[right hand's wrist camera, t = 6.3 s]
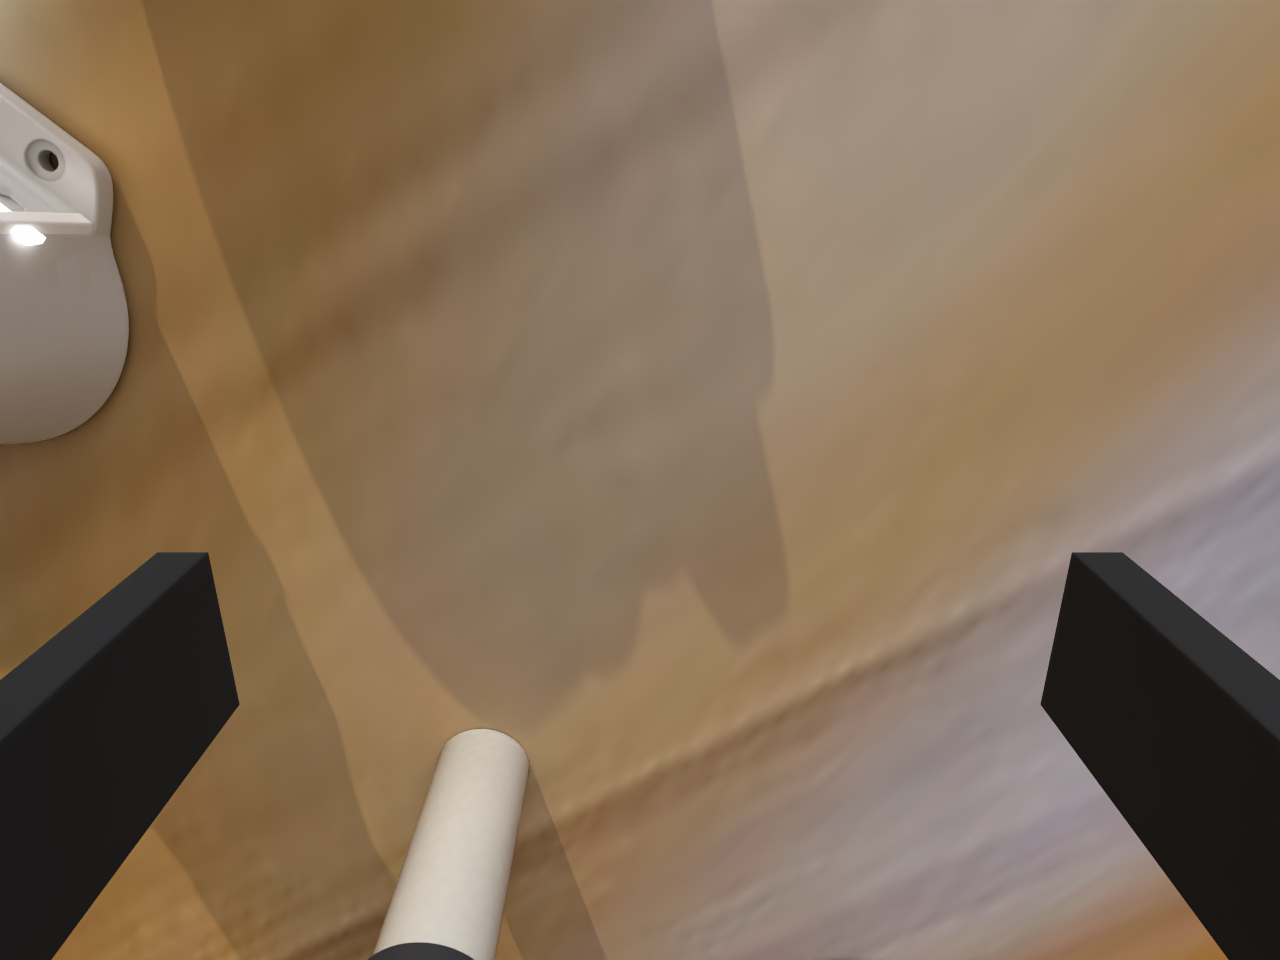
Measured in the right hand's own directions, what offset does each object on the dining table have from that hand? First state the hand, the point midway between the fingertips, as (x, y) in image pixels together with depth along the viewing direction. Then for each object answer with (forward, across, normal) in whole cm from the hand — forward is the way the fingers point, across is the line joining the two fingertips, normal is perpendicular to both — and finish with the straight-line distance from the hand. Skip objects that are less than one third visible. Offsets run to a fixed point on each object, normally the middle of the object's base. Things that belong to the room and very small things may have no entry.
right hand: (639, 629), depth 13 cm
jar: (+28, +9, +26) cm, 39 cm away
